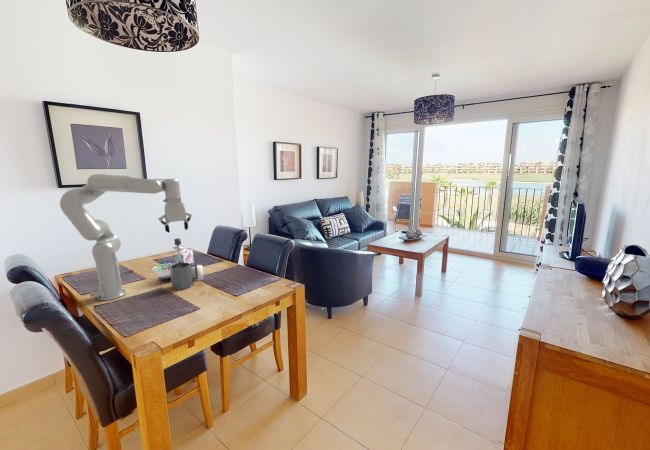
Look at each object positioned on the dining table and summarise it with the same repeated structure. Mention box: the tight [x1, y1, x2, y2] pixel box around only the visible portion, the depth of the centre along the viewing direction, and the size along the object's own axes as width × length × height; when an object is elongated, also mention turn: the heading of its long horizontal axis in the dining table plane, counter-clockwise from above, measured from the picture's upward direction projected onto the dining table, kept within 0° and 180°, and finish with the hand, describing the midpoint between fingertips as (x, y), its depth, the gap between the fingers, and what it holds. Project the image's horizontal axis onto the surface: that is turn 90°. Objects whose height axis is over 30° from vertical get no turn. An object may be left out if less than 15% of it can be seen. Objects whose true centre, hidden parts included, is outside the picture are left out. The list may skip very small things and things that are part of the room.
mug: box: [191, 264, 204, 282], centre depth 181 cm, size 7×9×8 cm
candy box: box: [173, 247, 195, 265], centre depth 186 cm, size 14×6×16 cm, turn 179°
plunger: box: [173, 237, 184, 268], centre depth 165 cm, size 8×8×20 cm
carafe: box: [169, 263, 198, 291], centre depth 169 cm, size 14×10×13 cm
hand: (177, 230), depth 163 cm, fingers open, 9 cm apart
